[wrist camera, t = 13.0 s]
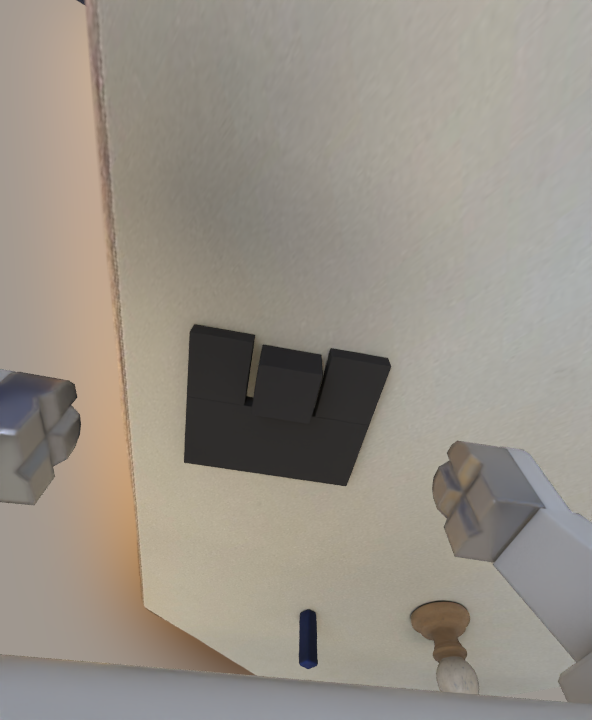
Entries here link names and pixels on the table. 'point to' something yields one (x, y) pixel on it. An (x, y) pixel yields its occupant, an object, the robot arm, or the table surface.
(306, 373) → the black cube
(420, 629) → the candle holder
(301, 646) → the eraser
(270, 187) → the table surface
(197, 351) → the black u-shaped block
